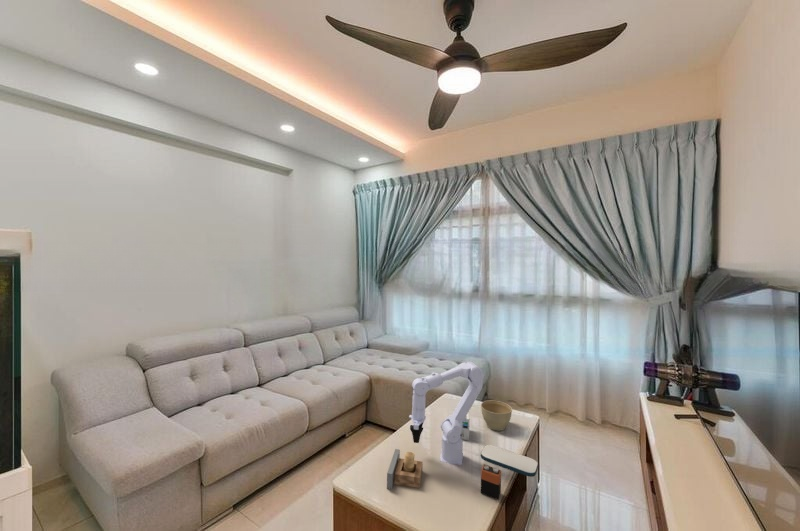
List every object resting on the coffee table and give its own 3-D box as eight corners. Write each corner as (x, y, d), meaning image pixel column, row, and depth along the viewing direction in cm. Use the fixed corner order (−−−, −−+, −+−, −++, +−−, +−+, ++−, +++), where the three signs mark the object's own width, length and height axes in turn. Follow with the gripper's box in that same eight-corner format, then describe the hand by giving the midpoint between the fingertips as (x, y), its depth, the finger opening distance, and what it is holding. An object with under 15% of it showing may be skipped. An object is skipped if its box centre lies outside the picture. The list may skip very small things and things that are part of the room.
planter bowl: (514, 424, 172) (515, 405, 172) (507, 438, 158) (508, 416, 158) (485, 416, 181) (486, 397, 180) (476, 428, 167) (477, 408, 167)
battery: (498, 500, 116) (499, 473, 116) (480, 493, 119) (481, 467, 119) (500, 493, 120) (501, 467, 120) (483, 486, 123) (483, 461, 123)
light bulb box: (469, 440, 155) (469, 419, 155) (455, 438, 156) (456, 417, 156) (468, 429, 165) (469, 409, 165) (455, 427, 167) (456, 407, 167)
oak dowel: (414, 472, 128) (415, 453, 128) (412, 478, 124) (413, 458, 124) (404, 470, 129) (405, 451, 129) (402, 476, 125) (403, 457, 125)
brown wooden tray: (422, 471, 130) (422, 461, 130) (419, 488, 121) (419, 477, 121) (398, 467, 132) (399, 458, 132) (394, 483, 122) (394, 473, 122)
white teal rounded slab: (478, 459, 141) (478, 455, 141) (486, 447, 151) (486, 442, 151) (534, 480, 128) (534, 475, 128) (539, 465, 138) (539, 460, 138)
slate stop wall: (399, 464, 135) (399, 449, 135) (391, 490, 120) (392, 474, 119) (394, 463, 136) (395, 448, 136) (386, 489, 120) (387, 473, 120)
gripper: (412, 398, 145) (410, 427, 146) (407, 413, 131) (405, 445, 131) (427, 400, 144) (425, 429, 144) (423, 415, 130) (422, 448, 130)
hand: (417, 437), depth 138 cm, fingers open, 7 cm apart
